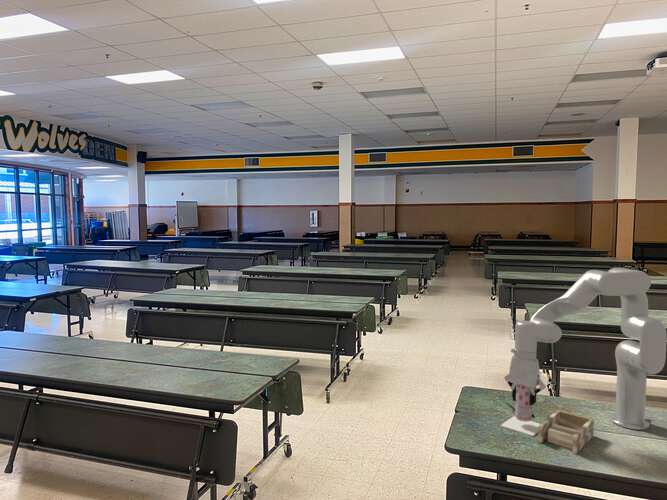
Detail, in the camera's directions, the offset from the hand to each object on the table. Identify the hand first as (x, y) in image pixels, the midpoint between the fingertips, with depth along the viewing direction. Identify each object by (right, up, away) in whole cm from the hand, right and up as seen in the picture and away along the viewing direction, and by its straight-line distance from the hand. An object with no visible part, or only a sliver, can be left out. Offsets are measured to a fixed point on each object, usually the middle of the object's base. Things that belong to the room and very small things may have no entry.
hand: (523, 401), depth 176 cm
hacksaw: (+3, -9, +21) cm, 23 cm away
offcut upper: (+9, -8, -12) cm, 17 cm away
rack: (+11, -10, -10) cm, 18 cm away
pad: (0, -10, +1) cm, 10 cm away
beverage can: (0, -7, 0) cm, 7 cm away
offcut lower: (+9, -11, -12) cm, 18 cm away
